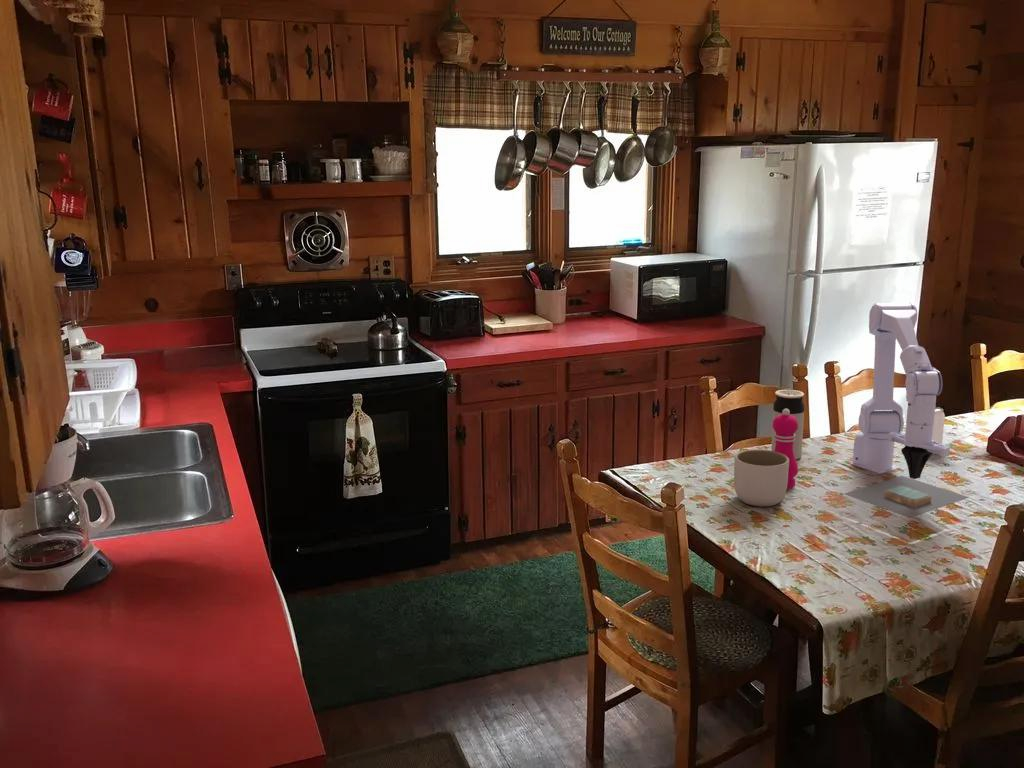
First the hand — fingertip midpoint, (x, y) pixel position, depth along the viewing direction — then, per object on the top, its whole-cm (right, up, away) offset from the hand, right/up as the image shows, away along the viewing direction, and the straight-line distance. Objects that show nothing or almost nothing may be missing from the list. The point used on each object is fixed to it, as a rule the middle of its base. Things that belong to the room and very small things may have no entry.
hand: (914, 477), depth 207 cm
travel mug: (-19, +2, +36) cm, 41 cm away
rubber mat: (0, -5, +5) cm, 7 cm away
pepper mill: (-27, -4, +15) cm, 31 cm away
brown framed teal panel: (-3, -4, +6) cm, 7 cm away
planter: (-35, -6, +6) cm, 36 cm away
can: (+21, +3, +38) cm, 43 cm away
